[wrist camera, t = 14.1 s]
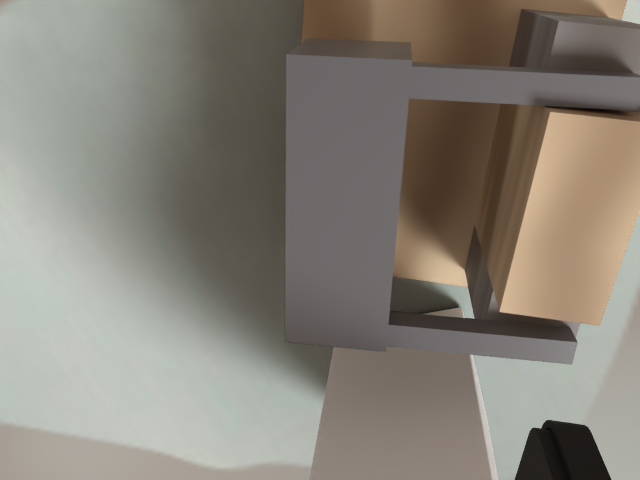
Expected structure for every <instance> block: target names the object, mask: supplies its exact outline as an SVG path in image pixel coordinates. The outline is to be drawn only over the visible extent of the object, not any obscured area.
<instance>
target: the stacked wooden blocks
mask: <svg viewBox="0 0 640 480" xmlns="http://www.w3.org/2000/svg"><path fill="white" fill-rule="evenodd" d="M626 2H627V0H304V9H303V23H302V38H301V43H303V42H304V41H305V40H307V39H308V38H318V39H341V40H363V41H386V42H409V43H411V51H412V59H413V62H421V63H443V64H464V65H485V66H506V67H527V68H548V69H569V70H590V71H611V72H632V73H636V74H638V75H640V24H635V23H631V22H626V21H622V20H621V19H622V16H623V12H624V9H625V6H626ZM639 211H640V101H639V105H638V108H637V111H631V110H612V109H594V108H575V107H557V106H538V105H520V104H501V103H482V102H464V101H445V100H427V99H409V105H408V116H407V127H406V138H405V149H404V160H403V171H402V182H401V193H400V203H399V214H398V225H397V236H396V247H395V258H394V269H393V277H399V278H407V279H414V280H421V281H429V282H436V283H444V284H451V285H458V286H466V287H468V289H469V293H470V298H471V303H472V308H473V313H474V317H475V319H481V320H492V321H503V322H514V323H525V324H536V325H547V326H558V327H569V328H571V330H572V332H573V334H574V336H575V338H576V335H577V332H578V329H579V326H580V323H583V324H590V325H597V326H600V324H601V321H602V318H603V315H604V312H605V309H606V307H607V304H608V301H609V298H610V295H611V292H612V289H613V286H614V283H615V280H616V277H617V275H618V272H619V269H620V266H621V263H622V260H623V257H624V254H625V251H626V248H627V246H628V243H629V240H630V237H631V234H632V231H633V228H634V225H635V222H636V219H637V217H638V214H639Z"/></svg>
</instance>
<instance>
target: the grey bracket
mask: <svg viewBox="0 0 640 480" xmlns="http://www.w3.org/2000/svg"><path fill="white" fill-rule="evenodd" d="M409 99H427V100H445V101H464V102H482V103H501V104H520V105H538V106H557V107H575V108H594V109H612V110H631V111H637V108H638V105H639V101H640V75H638V74H636V73H632V72H611V71H590V70H569V69H548V68H527V67H506V66H485V65H464V64H443V63H421V62H413V59H412V51H411V43H409V42H386V41H363V40H341V39H318V38H308V39H307V40H305V41H304V42H303V43H301V44H300V45H298V46H297V47H296V48H294V49H293V50H291V51H290V52H289V53H287V54H286V198H285V342H288V343H298V344H309V345H319V346H329V347H339V348H349V349H359V350H370V351H380V352H386V346H388V347H398V348H408V349H418V350H429V351H439V352H449V353H460V354H470V355H480V356H490V357H501V358H511V359H521V360H532V361H542V362H552V363H562V364H572V362H573V358H574V354H575V351H576V347H577V343H578V342H577V340H576V338H575V336H574V334H573V332H572V330H571V328H569V327H558V326H547V325H536V324H525V323H514V322H503V321H492V320H481V319H471V318H460V317H449V316H438V315H427V314H416V313H405V312H394V311H390V302H391V291H392V280H393V269H394V258H395V247H396V236H397V225H398V214H399V203H400V193H401V182H402V171H403V160H404V149H405V138H406V127H407V116H408V105H409Z"/></svg>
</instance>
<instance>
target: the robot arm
mask: <svg viewBox="0 0 640 480" xmlns="http://www.w3.org/2000/svg"><path fill="white" fill-rule="evenodd" d="M515 480H611V478H610V475H609V473H608V471H607V468H606V466H605V464H604V461H603V459H602V457H601V455H600V452H599V450H598V447H597V445H596V443H595V441H594V438H593V436H592V433H591V432H590V430H589V428H588V427H587V426H585V425H580V424H573V423H566V422H559V421H552V420H547V421H545V423H544V424H543V426H542V428H541V429H540V428H532V429H531V430H530V433H529V436H528V439H527V442H526V445H525V448H524V452H523V455H522V458H521V461H520V465H519V468H518V471H517V474H516V477H515Z"/></svg>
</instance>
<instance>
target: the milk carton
mask: <svg viewBox="0 0 640 480" xmlns="http://www.w3.org/2000/svg"><path fill="white" fill-rule="evenodd" d="M425 314H427V315H438V316H449V317H460V318H465V317H464V313H463V310H462V308H454V309H448V310H442V311H436V312H431V313H425ZM309 480H498V476H497V470H496V465H495V460H494V454H493V449H492V444H491V438H490V433H489V428H488V422H487V417H486V412H485V407H484V402H483V397H482V392H481V388H480V383H479V379H478V375H477V370H476V366H475V361H474V357H473V355H470V354H460V353H449V352H439V351H429V350H418V349H408V348H398V347H388V346H386V352H380V351H370V350H359V349H349V348H339V347H334V348H333V353H332V359H331V364H330V370H329V375H328V380H327V386H326V391H325V397H324V402H323V408H322V413H321V419H320V424H319V430H318V435H317V441H316V446H315V452H314V457H313V463H312V468H311V474H310V479H309Z"/></svg>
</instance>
